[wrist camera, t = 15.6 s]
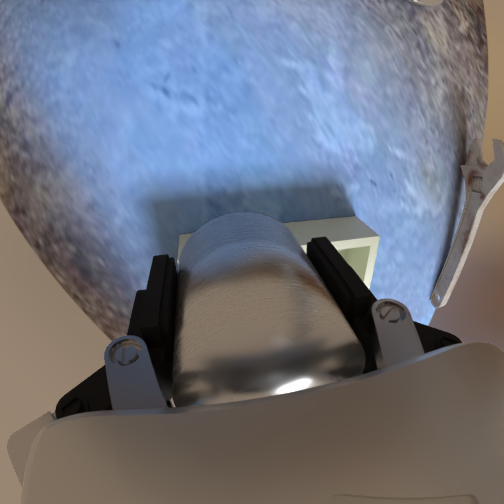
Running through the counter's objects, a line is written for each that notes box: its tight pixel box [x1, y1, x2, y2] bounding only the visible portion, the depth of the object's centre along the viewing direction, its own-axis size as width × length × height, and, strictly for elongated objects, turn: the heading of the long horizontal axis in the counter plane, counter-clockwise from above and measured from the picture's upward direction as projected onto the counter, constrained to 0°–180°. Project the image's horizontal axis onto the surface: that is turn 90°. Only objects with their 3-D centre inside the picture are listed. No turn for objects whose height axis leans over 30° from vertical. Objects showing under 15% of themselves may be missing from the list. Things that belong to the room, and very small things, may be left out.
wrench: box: [431, 138, 504, 308], centre depth 34 cm, size 8×2×30 cm
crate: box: [177, 216, 380, 289], centre depth 33 cm, size 16×20×5 cm
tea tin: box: [172, 212, 365, 407], centre depth 10 cm, size 5×5×6 cm
